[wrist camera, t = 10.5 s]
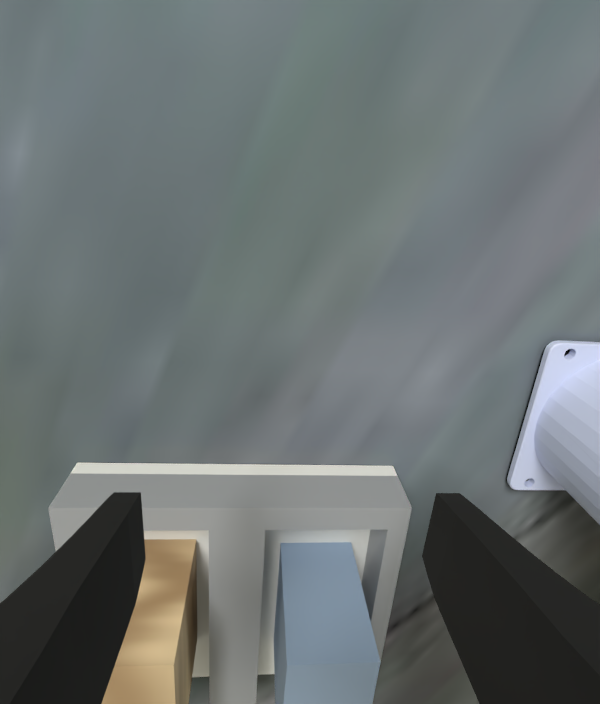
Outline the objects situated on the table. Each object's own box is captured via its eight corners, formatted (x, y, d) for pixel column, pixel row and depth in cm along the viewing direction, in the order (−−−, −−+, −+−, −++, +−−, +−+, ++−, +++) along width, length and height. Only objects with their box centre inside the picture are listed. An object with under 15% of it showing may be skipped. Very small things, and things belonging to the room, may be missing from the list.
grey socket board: (392, 466, 22) (411, 507, 19) (359, 657, 27) (370, 712, 24) (77, 462, 20) (48, 507, 18) (104, 666, 25) (85, 726, 23)
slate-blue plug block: (350, 542, 22) (380, 662, 17) (337, 637, 25) (358, 769, 19) (280, 542, 22) (286, 665, 17) (273, 639, 25) (277, 774, 19)
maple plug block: (196, 539, 22) (173, 664, 16) (197, 638, 24) (178, 776, 19) (120, 539, 21) (69, 667, 16) (129, 640, 24) (89, 782, 18)
